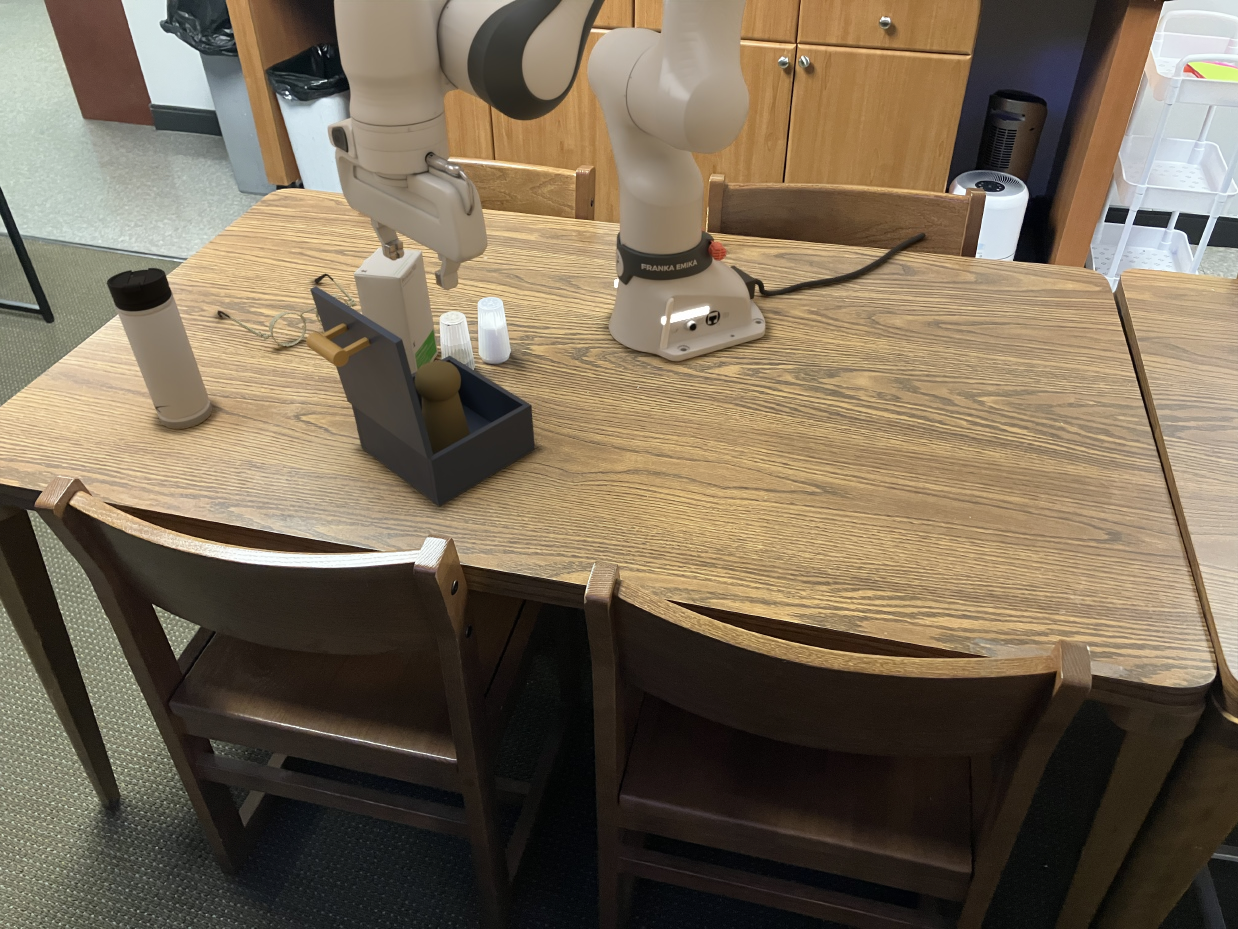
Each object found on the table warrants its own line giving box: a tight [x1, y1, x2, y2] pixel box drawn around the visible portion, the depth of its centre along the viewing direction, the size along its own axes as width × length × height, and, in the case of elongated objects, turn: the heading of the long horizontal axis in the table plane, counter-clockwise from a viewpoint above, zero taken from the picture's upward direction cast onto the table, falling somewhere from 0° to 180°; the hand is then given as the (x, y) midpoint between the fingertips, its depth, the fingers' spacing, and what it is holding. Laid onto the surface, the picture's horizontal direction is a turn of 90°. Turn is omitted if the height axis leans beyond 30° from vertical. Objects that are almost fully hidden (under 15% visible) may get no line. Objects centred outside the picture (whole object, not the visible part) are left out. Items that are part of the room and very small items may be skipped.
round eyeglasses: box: [217, 273, 358, 347], centre depth 135 cm, size 17×15×5 cm
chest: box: [351, 355, 536, 508], centre depth 110 cm, size 14×15×7 cm
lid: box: [305, 285, 433, 459], centre depth 98 cm, size 15×15×5 cm
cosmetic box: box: [353, 247, 439, 374], centre depth 122 cm, size 8×7×16 cm
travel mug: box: [106, 267, 213, 430], centre depth 112 cm, size 6×7×20 cm
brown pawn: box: [415, 360, 470, 455], centre depth 108 cm, size 6×6×11 cm
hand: (420, 271), depth 98 cm, fingers open, 8 cm apart
